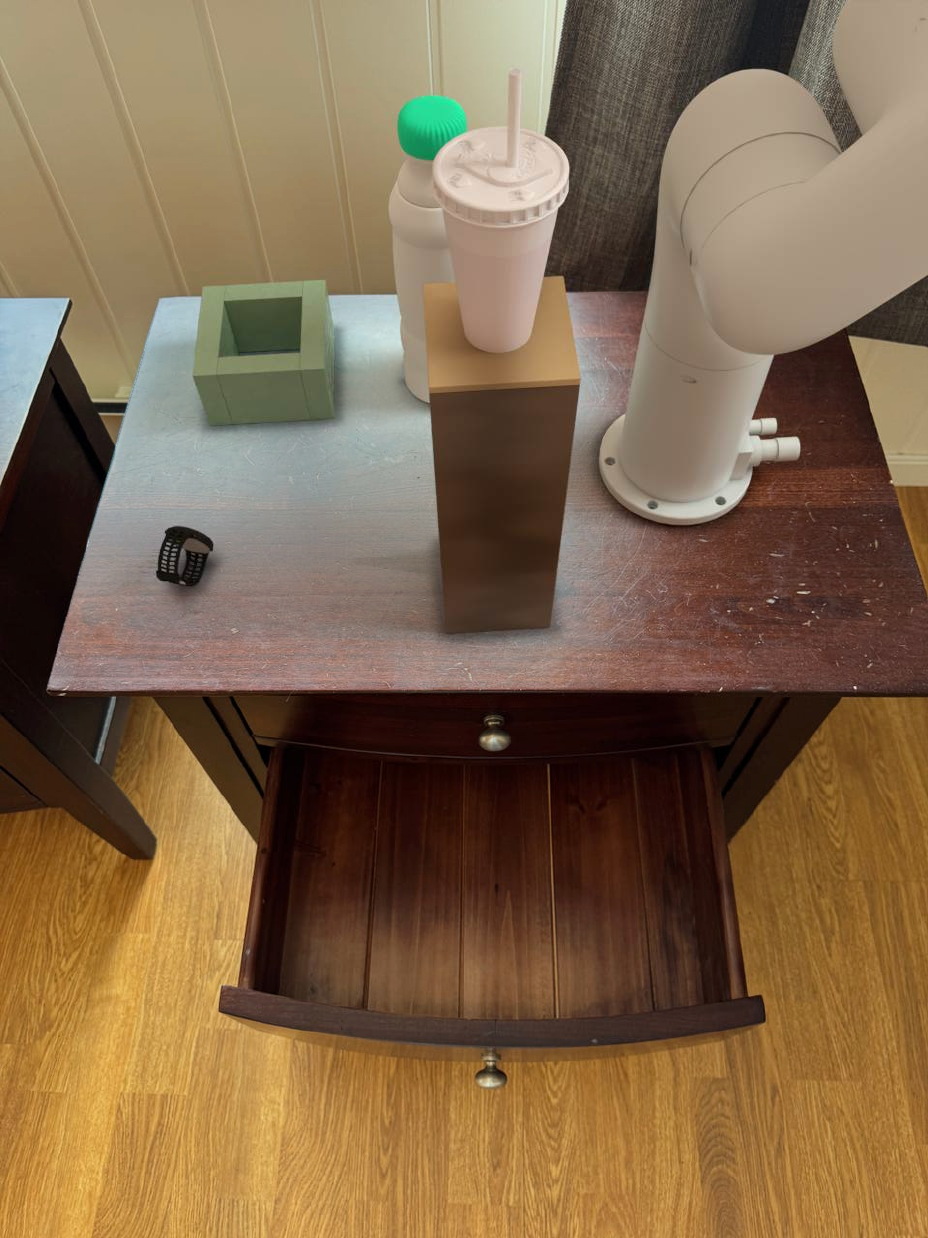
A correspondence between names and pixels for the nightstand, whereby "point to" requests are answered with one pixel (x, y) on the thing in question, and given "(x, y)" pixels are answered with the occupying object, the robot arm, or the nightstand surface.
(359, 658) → the nightstand surface
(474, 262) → the smoothie
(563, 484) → the riser
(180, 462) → the nightstand surface
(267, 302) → the stand
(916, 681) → the nightstand surface
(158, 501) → the nightstand surface
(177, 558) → the smartwatch
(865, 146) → the robot arm
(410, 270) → the water bottle
